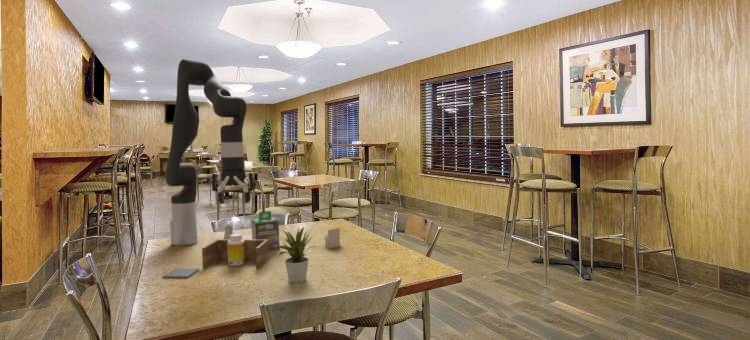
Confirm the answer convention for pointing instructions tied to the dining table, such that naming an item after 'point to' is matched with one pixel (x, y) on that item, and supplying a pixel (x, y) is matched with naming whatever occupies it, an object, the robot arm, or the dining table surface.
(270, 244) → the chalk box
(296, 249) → the house plant
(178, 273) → the grey pad
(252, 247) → the walnut box
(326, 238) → the architectural model
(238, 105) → the robot arm
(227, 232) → the flask
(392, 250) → the dining table surface
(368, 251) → the dining table surface
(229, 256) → the supplement bottle
